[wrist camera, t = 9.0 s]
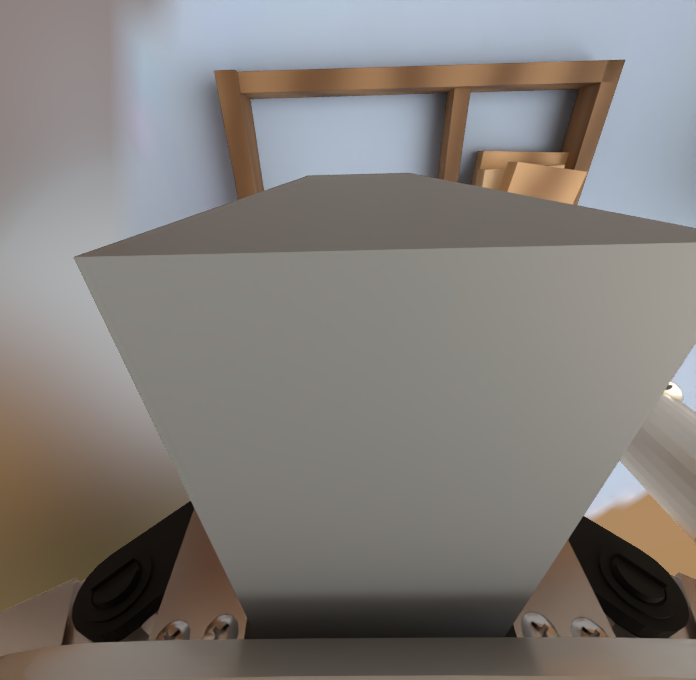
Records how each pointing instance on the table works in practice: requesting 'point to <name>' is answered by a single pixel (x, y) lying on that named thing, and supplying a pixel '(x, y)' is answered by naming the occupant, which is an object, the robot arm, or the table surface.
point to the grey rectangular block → (396, 387)
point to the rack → (452, 79)
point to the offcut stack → (528, 174)
